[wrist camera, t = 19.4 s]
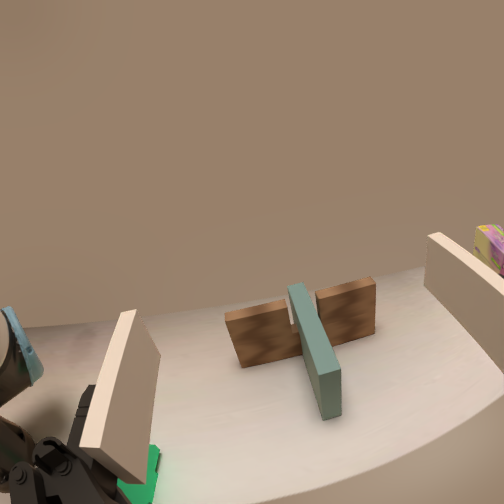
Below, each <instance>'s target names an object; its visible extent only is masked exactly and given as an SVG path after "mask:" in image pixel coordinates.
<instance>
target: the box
mask: <svg viewBox="0 0 504 504" xmlns="http://www.w3.org/2000/svg"><path fill="white" fill-rule="evenodd" d="M473 256H475V257H476V258H477V259H479V260H480V261H481V262H483V263H484V264H485V265H486V266H488V267H489V268H490V269H492V270H493V271H494V272H496V273H497V274H502V275H504V230H503V229H502V228H501V227H500V226H499V225H498V224H492V225H484V226H477V227H476V235H475V242H474V250H473Z"/></svg>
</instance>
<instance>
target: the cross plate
mask: <svg viewBox="0 0 504 504" xmlns="http://www.w3.org/2000/svg"><path fill="white" fill-rule="evenodd" d="M287 288H288V293H289V299H290V304H291V310H292V315H293V321H294V324H296V325H297V328H298V331H299V334H300V339H301V345H302V351H303V357H304V361H305V364H306V368H307V371H308V374H309V377H310V380H311V384H312V387H313V390H314V393H315V396H316V400H317V403H318V406H319V409H320V413H321V416H322V419H323V420H327V419H330V418H334V417H337V416H340V415H341V368H340V365H339V363H338V360H337V358H336V356H335V353H334V351H333V349H332V346H331V344H330V342H329V339H328V337H327V335H326V333H325V330H324V328H323V326H322V323H321V321H320V319H319V317H318V314H317V312H316V310H315V308H314V305H313V303H312V301H311V299H310V296H309V294H308V292H307V290H306V287H305V285H304V283H303V282H302V283H298V284H294V285H290V286H287Z"/></svg>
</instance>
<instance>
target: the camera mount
mask: <svg viewBox="0 0 504 504" xmlns="http://www.w3.org/2000/svg"><path fill="white" fill-rule="evenodd" d="M159 451H160V449H159V448H158V447H157V446H156V445H150V444H149V451H148V462H147V475H146V484H126V483H125V482H123V481H122V480H120V479H119V478H118V479H117V486H118V487H119V488H120V489H121V490H122V491H123V492H124V494H125V495H126V496H127V498H128V499H129V500H130V502H131V503H132V504H148V503H152V502H153V497H154V492H155V487H156V482H157V477H158V474H157V473H156V472H155V469H156V465H157V460H158V456H159Z"/></svg>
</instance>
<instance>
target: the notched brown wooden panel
mask: <svg viewBox="0 0 504 504" xmlns="http://www.w3.org/2000/svg"><path fill="white" fill-rule="evenodd" d="M315 295H316V303H317V312H318V317H319V319H320V321H321V323H322V326H323V328H324V330H325V333H326V335H327V337H328V339H329V342H330V344H331V346H335V345H339V344H342V343H346V342H349V341H352V340H355V339H359V338H362V337H365V336H368V335H371V334H374V332H375V306H376V283H375V282H374V280H373V279H372V278H371V277H367V278H363V279H360V280H356V281H352V282H349V283H345V284H341V285H338V286H334V287H330V288H326V289H323V290H319V291H315ZM225 323H226V326H227V328H228V331H229V334H230V337H231V340H232V342H233V345H234V348H235V351H236V353H237V356H238V359H239V361H240V364H241V367H242V368H245V367H250V366H255V365H260V364H264V363H269V362H273V361H277V360H282V359H286V358H290V357H294V356H298V355H302V354H303V351H302V345H301V339H300V334H299V331H298V328H297V325H296V324H292V325H291V324H290V319H289V314H288V309H287V305H286V302H285V299H283V300H279V301H275V302H271V303H266V304H262V305H258V306H253V307H249V308H245V309H240V310H236V311H231V312H227V313H225Z"/></svg>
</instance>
